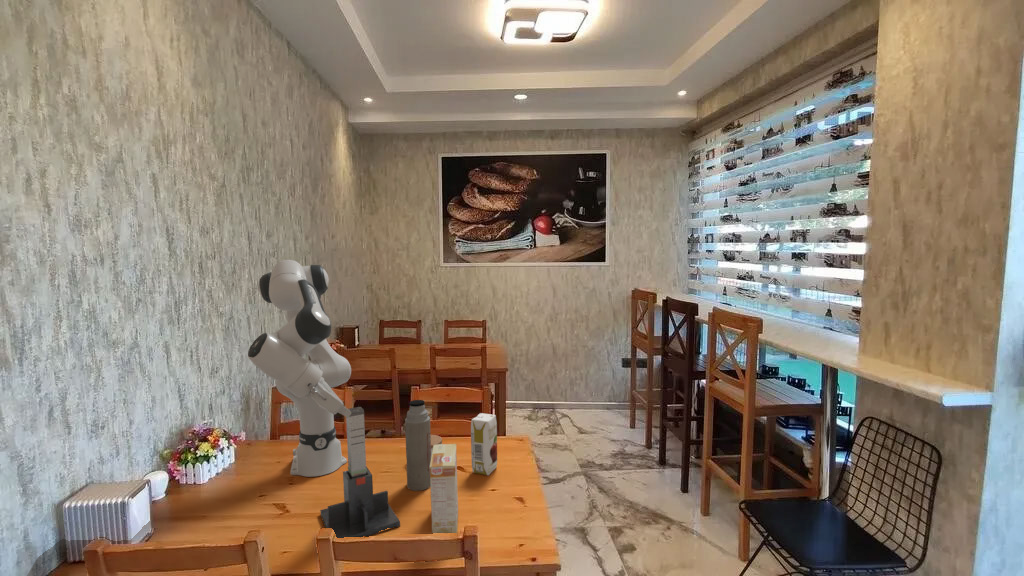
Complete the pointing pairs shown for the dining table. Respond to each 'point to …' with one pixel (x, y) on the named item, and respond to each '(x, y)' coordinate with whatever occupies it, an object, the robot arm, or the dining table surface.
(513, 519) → the dining table surface
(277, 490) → the dining table surface
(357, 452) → the steel column
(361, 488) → the jack stand
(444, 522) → the coffeecake box
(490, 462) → the juice carton
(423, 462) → the thermos bottle
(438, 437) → the lidded jar
